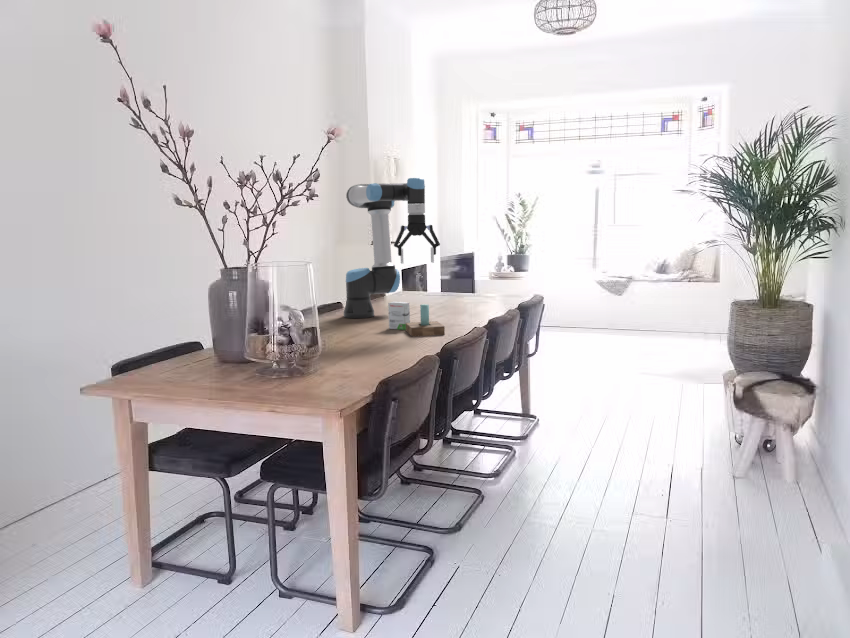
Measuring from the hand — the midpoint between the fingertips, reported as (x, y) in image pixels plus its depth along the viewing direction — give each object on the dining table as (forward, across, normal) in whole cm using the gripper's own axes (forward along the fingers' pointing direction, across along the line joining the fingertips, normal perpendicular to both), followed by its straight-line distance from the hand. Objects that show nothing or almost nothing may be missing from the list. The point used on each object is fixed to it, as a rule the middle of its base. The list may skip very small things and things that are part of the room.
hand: (417, 262), depth 310 cm
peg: (+29, 0, -14) cm, 32 cm away
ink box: (+29, -9, -1) cm, 30 cm away
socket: (+29, 0, -14) cm, 32 cm away
